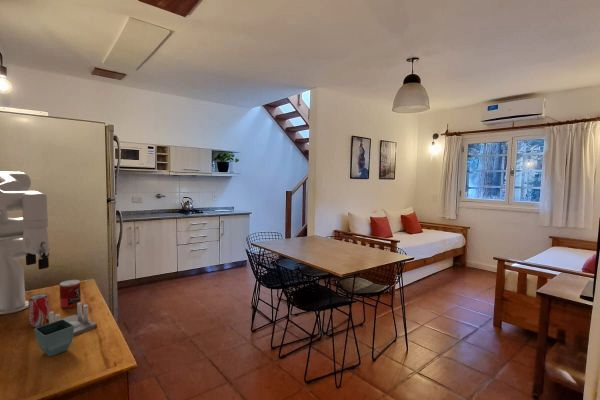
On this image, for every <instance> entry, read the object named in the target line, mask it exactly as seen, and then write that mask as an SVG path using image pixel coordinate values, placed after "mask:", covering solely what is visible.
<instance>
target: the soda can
mask: <svg viewBox="0 0 600 400" xmlns="http://www.w3.org/2000/svg"><path fill="white" fill-rule="evenodd" d="M49 300H50V299H49V295H48V294H47V293H37V294H33V295H31V296H30V297H29V299H28V300H27V301H28V303H29V307H28V320H29V321H28V323H29V327H32V328H37V327H40V326H43V325H46V324H49V312H50V307H49V306H50V303H49V302H50V301H49Z"/></svg>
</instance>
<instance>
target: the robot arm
mask: <svg viewBox="0 0 600 400" xmlns="http://www.w3.org/2000/svg"><path fill="white" fill-rule="evenodd" d="M31 184H32V181H31V178H30V176H29V174H28V173H25V172H22V171H0V315H8V314H14V313H18V312H20V311H23V310H25V309H27V308H29V303H28V301H29V300H26V290H25V286H26V285H25V270H24V266H23V265H22V264H21V263H19V262H17V260H20V259H25V265H26V266H30V265H31V266H32V265H35V264H38V265H37V266H38V270H44V269H48V268H49V267H50V264H49V263H50V261H49V260H50V259H49V258H50V251H51V250H50V247H49V246H50V245H49V235H48V228H49V223H48V221H49V220H48V197H47V194H46V193H45V192H44V193H43V192H40V191H37V190H29V189H30V188H31V186H32V185H31ZM11 211H22V217H11V216H9V213H8V212H11ZM37 256H38V260H37ZM37 261H38V263H37Z"/></svg>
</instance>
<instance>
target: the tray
mask: <svg viewBox="0 0 600 400" xmlns="http://www.w3.org/2000/svg"><path fill="white" fill-rule="evenodd" d="M76 308H77V309H76V310H77V313H76V314H72V315H70V316H67V317H64V318H61V314H60V313H58V314H57V313H56V314H55V311H49V322H48V323H47V324H50V323H53V322H55V321H58V320H62V319H64V320H66V321H67V322H69V323H71V324H73V325H74V333H73V337H74V336H76V335H77V336H78V335H79V334H82V333H84V332H86V331H90V330H92V329H95V328H96V327H98V323H97V322H94V321H91V320H90V319H89V305H88V304H84V305H83V303H82V302H80V303H77V307H76ZM47 324H46V325H47ZM43 326H44V325H43ZM40 327H41V326H40Z"/></svg>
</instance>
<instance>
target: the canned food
mask: <svg viewBox="0 0 600 400" xmlns="http://www.w3.org/2000/svg"><path fill="white" fill-rule="evenodd" d="M81 297H82V296H81V280H79V279H68V280H64V281H61V282H60V283H59V302H60V304H59V306H60V308H61V309H65V310H66V309H67V310H68V309H73V308H77V303H80V302H81V301H82V299H81ZM81 303H82V302H81Z"/></svg>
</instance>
